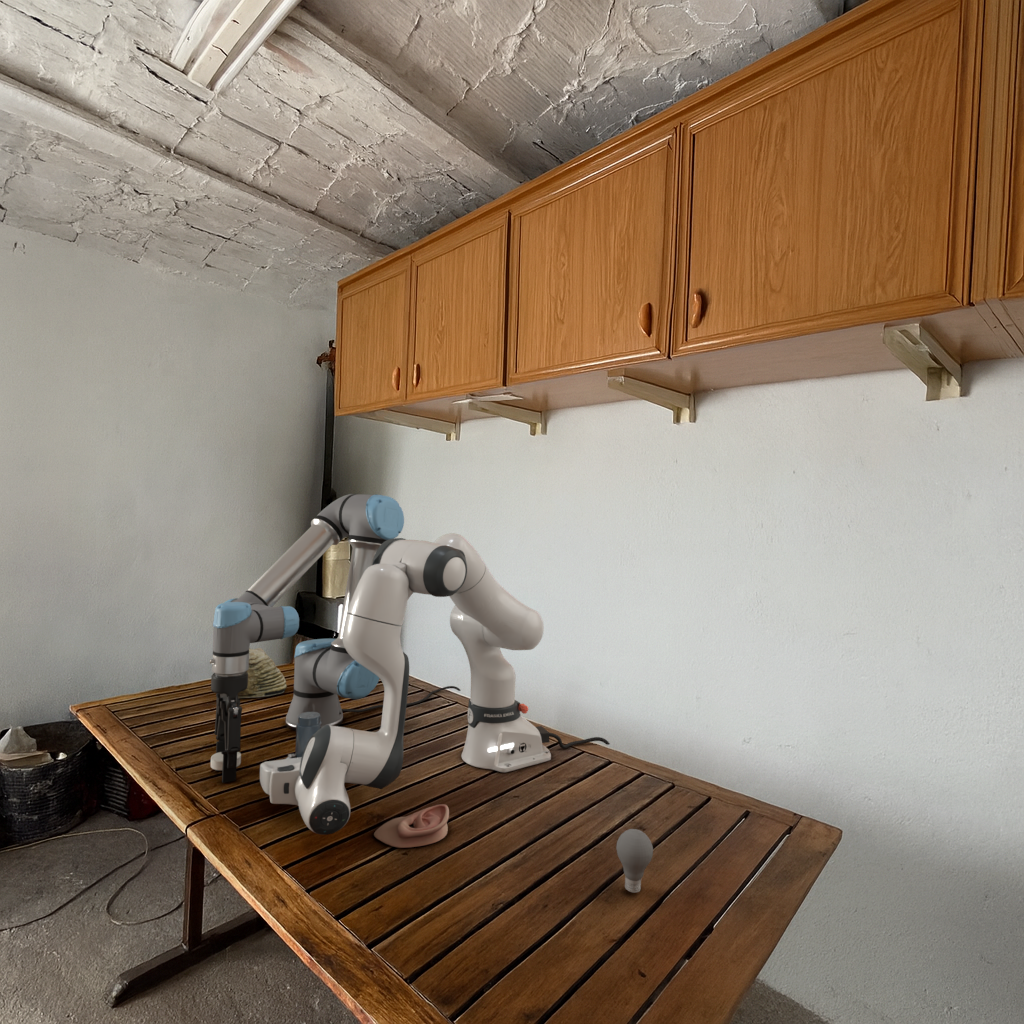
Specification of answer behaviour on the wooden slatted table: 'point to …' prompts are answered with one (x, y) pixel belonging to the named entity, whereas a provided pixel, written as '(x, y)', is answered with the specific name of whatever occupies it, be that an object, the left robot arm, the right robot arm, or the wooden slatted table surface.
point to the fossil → (262, 676)
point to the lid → (221, 761)
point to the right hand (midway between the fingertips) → (306, 755)
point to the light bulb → (634, 857)
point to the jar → (306, 730)
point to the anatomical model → (416, 828)
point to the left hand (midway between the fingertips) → (225, 774)
